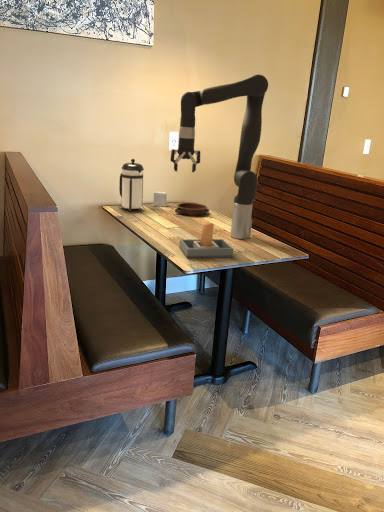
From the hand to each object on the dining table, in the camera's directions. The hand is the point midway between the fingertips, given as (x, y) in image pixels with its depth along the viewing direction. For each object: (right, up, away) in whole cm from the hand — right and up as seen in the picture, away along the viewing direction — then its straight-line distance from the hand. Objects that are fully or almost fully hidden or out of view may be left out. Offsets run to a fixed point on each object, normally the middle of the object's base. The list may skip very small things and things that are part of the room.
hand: (184, 171), depth 203 cm
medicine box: (-17, -9, +64) cm, 67 cm away
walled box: (+9, -40, -21) cm, 46 cm away
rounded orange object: (+9, -39, -21) cm, 45 cm away
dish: (+3, -16, +50) cm, 53 cm away
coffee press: (-34, -13, +50) cm, 62 cm away
